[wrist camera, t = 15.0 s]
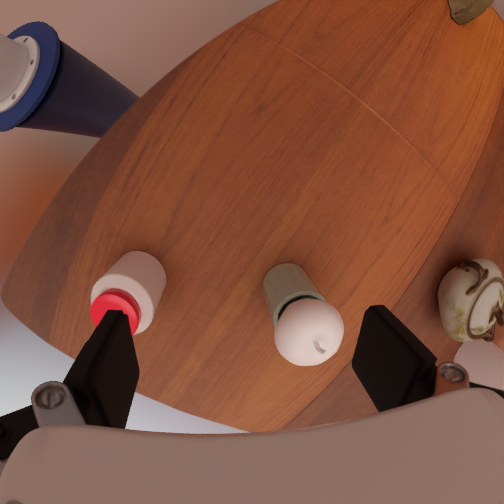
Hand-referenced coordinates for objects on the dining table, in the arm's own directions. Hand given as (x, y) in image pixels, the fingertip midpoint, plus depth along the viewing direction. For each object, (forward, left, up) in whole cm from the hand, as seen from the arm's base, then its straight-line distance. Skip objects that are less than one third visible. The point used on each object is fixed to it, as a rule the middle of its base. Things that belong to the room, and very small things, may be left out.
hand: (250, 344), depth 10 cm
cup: (+8, -9, -27) cm, 29 cm away
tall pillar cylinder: (+56, -29, -27) cm, 68 cm away
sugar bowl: (+41, -11, -27) cm, 50 cm away
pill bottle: (-12, -8, -27) cm, 31 cm away
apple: (+8, -9, -18) cm, 22 cm away
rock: (+41, +46, -27) cm, 67 cm away
